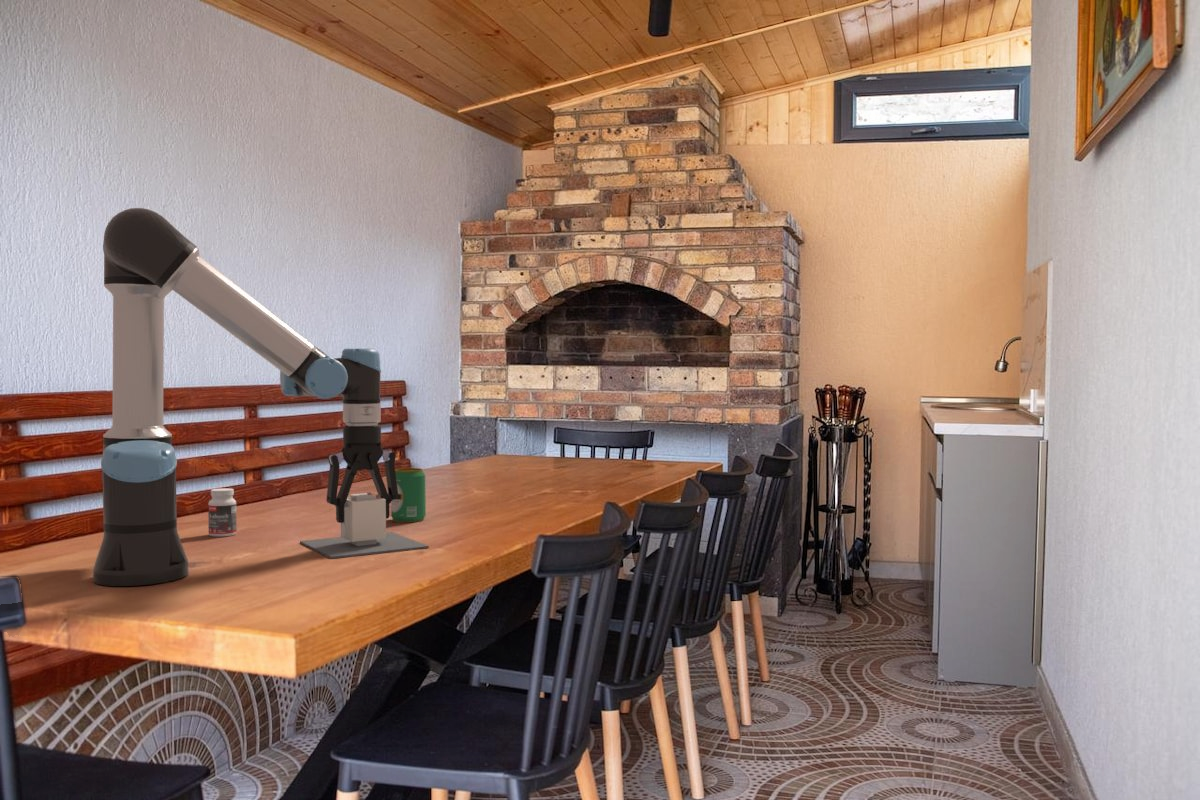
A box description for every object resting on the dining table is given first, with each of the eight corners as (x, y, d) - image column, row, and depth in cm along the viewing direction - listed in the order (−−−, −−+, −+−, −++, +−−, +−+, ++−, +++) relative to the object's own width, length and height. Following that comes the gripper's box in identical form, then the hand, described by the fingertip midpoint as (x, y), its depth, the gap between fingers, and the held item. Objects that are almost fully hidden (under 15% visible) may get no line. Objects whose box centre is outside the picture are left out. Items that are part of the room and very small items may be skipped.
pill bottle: (204, 537, 216) (203, 491, 216) (213, 532, 222) (213, 487, 222) (231, 537, 217) (231, 491, 216) (240, 532, 222) (239, 487, 222)
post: (331, 558, 192) (330, 502, 192) (300, 542, 209) (299, 491, 209) (428, 547, 203) (428, 495, 203) (391, 533, 220) (391, 484, 220)
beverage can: (385, 519, 240) (384, 469, 239) (414, 516, 245) (413, 467, 244) (402, 523, 234) (402, 472, 233) (432, 520, 239) (431, 469, 238)
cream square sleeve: (352, 541, 201) (352, 499, 201) (341, 536, 207) (340, 495, 207) (386, 538, 205) (385, 496, 205) (373, 533, 211) (373, 493, 211)
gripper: (319, 427, 197) (320, 544, 198) (415, 423, 208) (416, 534, 209) (307, 425, 203) (309, 538, 204) (401, 421, 214) (402, 529, 215)
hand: (363, 536), depth 206 cm, fingers closed on cream square sleeve, 7 cm apart
